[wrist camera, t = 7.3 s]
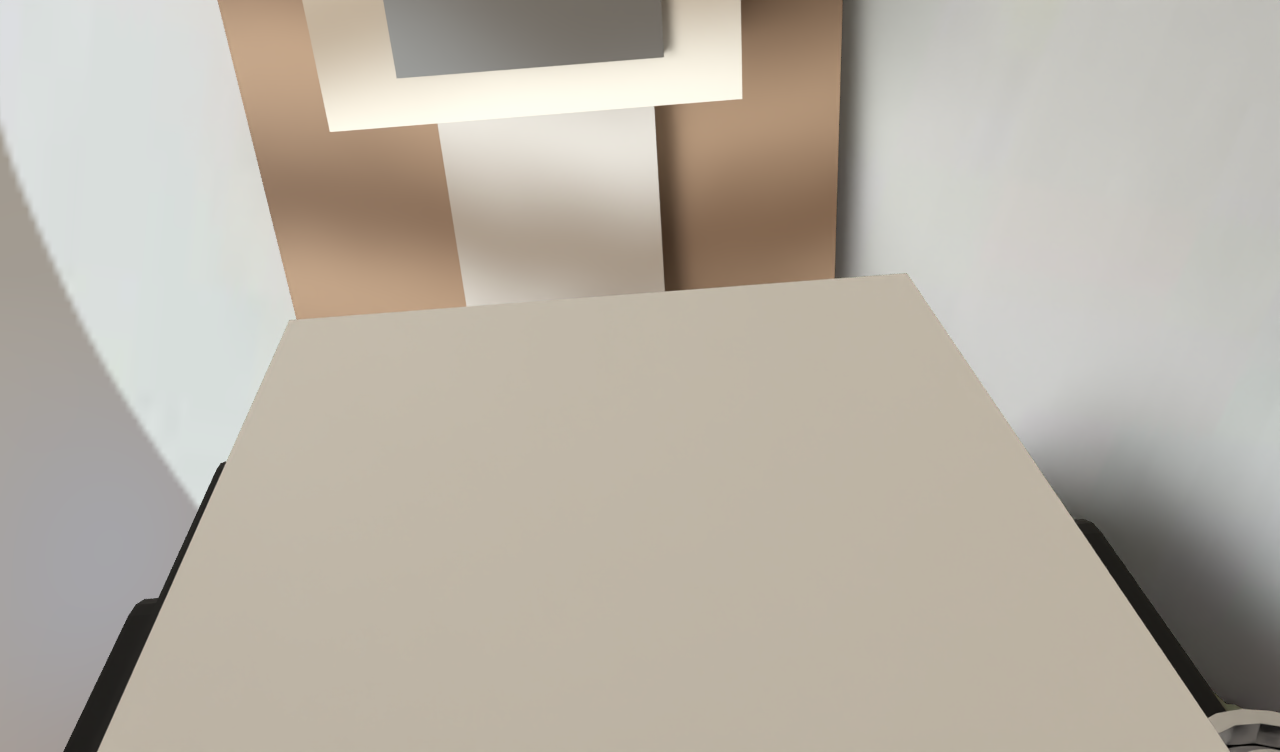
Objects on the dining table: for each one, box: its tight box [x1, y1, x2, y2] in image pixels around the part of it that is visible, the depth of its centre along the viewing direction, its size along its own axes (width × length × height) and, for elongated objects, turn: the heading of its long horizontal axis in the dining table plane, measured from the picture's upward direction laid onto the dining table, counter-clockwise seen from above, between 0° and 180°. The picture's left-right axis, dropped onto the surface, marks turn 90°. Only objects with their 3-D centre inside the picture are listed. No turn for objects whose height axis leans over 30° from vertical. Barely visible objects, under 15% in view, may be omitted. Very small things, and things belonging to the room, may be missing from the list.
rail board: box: [218, 0, 843, 320], centre depth 26 cm, size 22×14×6 cm, turn 4°
